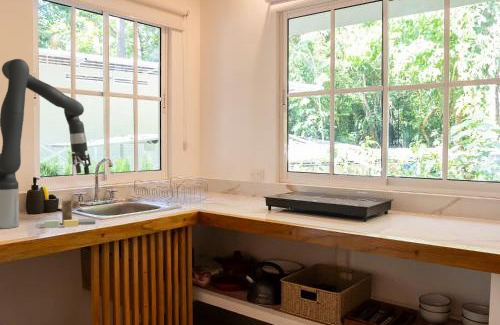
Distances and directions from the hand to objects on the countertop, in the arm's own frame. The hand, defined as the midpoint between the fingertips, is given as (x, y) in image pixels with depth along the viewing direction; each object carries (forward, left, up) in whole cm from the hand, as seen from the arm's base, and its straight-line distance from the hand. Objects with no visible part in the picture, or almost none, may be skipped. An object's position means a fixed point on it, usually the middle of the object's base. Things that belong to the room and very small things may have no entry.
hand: (83, 173), depth 226 cm
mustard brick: (-4, -24, -22) cm, 33 cm away
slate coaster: (+2, -17, -22) cm, 28 cm away
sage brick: (-12, -23, -22) cm, 35 cm away
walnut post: (-6, -17, -22) cm, 29 cm away
